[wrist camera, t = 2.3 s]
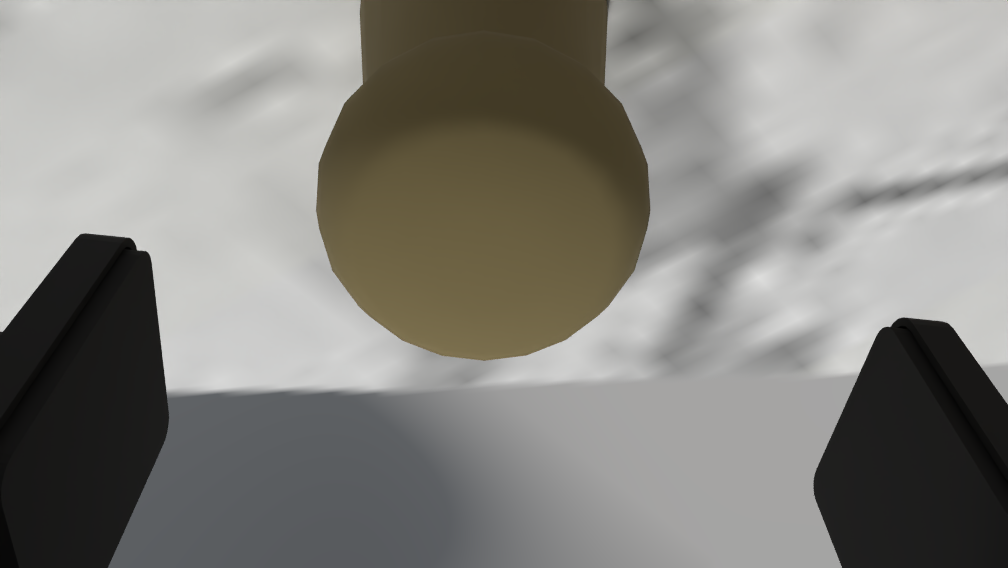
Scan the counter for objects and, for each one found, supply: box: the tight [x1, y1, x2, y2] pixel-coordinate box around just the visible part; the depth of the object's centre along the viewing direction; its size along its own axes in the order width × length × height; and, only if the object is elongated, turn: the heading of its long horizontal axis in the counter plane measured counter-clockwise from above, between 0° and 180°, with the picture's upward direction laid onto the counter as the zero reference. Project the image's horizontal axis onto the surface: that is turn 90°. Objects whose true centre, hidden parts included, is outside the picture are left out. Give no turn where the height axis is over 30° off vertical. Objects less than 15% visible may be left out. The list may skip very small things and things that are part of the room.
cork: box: [316, 0, 650, 361], centre depth 17 cm, size 6×6×11 cm
